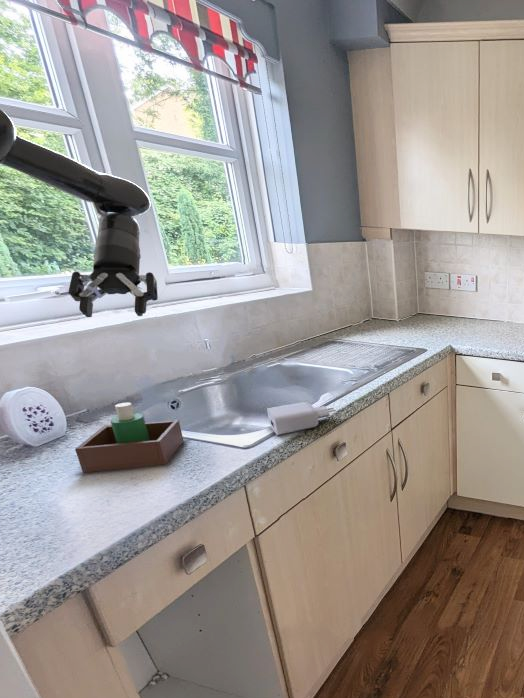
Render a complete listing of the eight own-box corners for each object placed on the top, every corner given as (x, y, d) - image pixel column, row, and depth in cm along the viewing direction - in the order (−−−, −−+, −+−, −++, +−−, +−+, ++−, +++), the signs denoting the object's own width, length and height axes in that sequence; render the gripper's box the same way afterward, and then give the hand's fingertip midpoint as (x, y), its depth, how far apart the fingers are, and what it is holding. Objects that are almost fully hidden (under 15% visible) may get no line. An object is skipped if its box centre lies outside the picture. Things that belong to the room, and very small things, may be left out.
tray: (82, 472, 90) (74, 449, 88) (110, 447, 100) (103, 425, 98) (165, 464, 94) (159, 441, 93) (183, 441, 105) (178, 420, 103)
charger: (341, 423, 118) (277, 436, 109) (330, 412, 125) (269, 424, 116) (339, 406, 117) (274, 418, 107) (328, 396, 123) (266, 406, 114)
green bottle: (115, 459, 94) (101, 410, 90) (127, 448, 98) (113, 401, 95) (146, 456, 96) (133, 407, 92) (156, 445, 100) (143, 399, 96)
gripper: (67, 241, 96) (59, 304, 90) (151, 244, 102) (148, 303, 96) (84, 265, 102) (78, 325, 96) (162, 266, 108) (161, 323, 102)
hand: (113, 314), depth 96 cm, fingers open, 8 cm apart
